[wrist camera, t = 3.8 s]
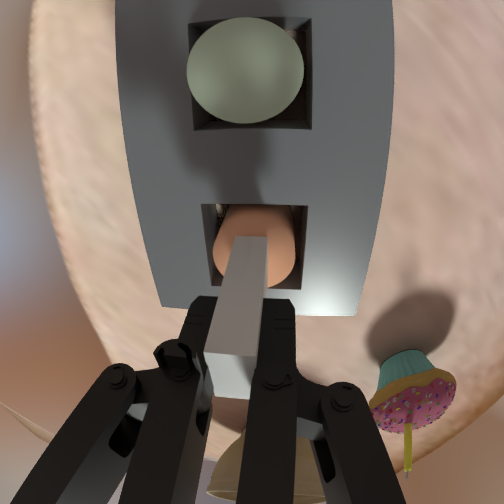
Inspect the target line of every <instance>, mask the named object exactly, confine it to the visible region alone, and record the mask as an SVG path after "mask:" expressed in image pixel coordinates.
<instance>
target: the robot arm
mask: <svg viewBox="0 0 504 504" xmlns="http://www.w3.org/2000/svg"><path fill="white" fill-rule="evenodd" d="M267 286H268V237H262V236H235V239H234V242H233V246H232V249H231V253H230V256H229V260H228V263H227V267H226V271H225V274H224V278H223V281H222V285H221V289H220V292H219V296H218V297H217V296H201V295H199V296H198V297H197V298H196V299H195V300H194V301H193V302H192V303H191V304H190V307H189V310H188V313H187V316H186V318H185V321H184V324H183V327H182V329H181V332H180V335H179V338H178V339H171V340H168V341H165V342H163V343H162V344H160V345H159V346H157V348H156V349H155V351H154V352H153V354H154V356H155V358H156V360H157V363H158V365H159V367H158V368H155V369H150V370H142V371H134V370H133V368H132V367H130V366H129V365H127V364H123V363H118V364H113V365H111V366H109V367H107V368H106V369H105V370H104V371H103V372H102V373H101V375H100V376H99V377H98V378H97V380H96V381H95V383H94V384H93V385H92V386H91V388H90V389H89V390H88V392H87V393H86V394H85V396H84V397H83V398H82V400H81V401H80V402H79V404H78V405H77V407H76V408H75V409H74V410H73V412H72V413H71V415H70V416H69V417H68V419H67V420H66V421H65V423H64V424H63V426H62V427H61V428H60V430H59V431H58V433H57V434H56V435H55V437H54V438H53V440H52V441H51V443H50V444H49V446H48V447H47V448H46V450H45V451H44V453H43V454H42V456H41V457H40V459H39V460H38V461H37V463H36V465H35V466H34V467H33V469H32V470H31V472H30V473H29V475H28V477H27V478H26V480H25V481H24V483H23V484H22V486H21V487H20V489H19V490H18V492H17V494H16V495H15V497H14V498H13V500H12V502H11V503H10V504H107V503H108V502H109V500H110V498H111V497H112V495H113V493H114V492H115V490H116V488H117V487H118V485H119V484H120V482H121V480H122V479H123V477H124V475H125V474H126V472H127V474H126V477H125V481H124V484H123V488H122V492H121V495H120V499H119V503H118V504H195V499H196V494H197V489H198V483H199V478H200V473H201V468H202V462H203V457H204V452H205V447H206V442H207V436H208V431H209V426H210V421H211V416H212V411H213V410H212V402H211V400H212V395H213V391H214V394H215V396H217V397H227V398H237V399H249V407H248V415H247V423H246V431H245V439H244V446H243V454H242V462H241V469H240V476H239V484H238V491H237V498H236V504H293V499H294V482H295V461H296V435H297V436H300V437H303V438H307V439H309V441H310V444H311V448H312V451H313V455H314V459H315V462H316V466H317V469H318V473H319V477H320V480H321V484H322V488H323V491H324V495H325V499H326V502H327V504H406V502H405V499H404V496H403V493H402V490H401V487H400V485H399V482H398V479H397V477H396V474H395V471H394V468H393V466H392V463H391V461H390V458H389V455H388V453H387V450H386V448H385V445H384V443H383V440H382V437H381V435H380V432H379V430H378V427H377V425H376V423H375V420H374V418H373V415H372V413H371V410H370V408H369V406H368V403H367V401H366V398H365V396H364V394H363V393H362V391H361V390H360V388H358V387H357V386H355V385H354V384H351V383H348V382H336V383H334V384H331V385H329V386H328V387H327V386H323V385H320V384H316V383H313V382H311V381H308V380H307V379H305V378H304V377H303V376H302V375H301V374H300V373H299V371H298V369H297V367H296V330H295V308H294V306H293V304H292V302H291V301H290V299H276V298H267Z"/></svg>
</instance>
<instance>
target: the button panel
mask: <svg viewBox="0 0 504 504" xmlns="http://www.w3.org/2000/svg"><path fill="white" fill-rule="evenodd" d="M240 17H252V18H259V19H263V20H266V21H269V22H272V23H274V24H275V25H277V26H279V27H281V28H282V29H283V30H306V121H295V120H264V121H260V122H255V123H246V124H245V123H234V122H229V121H211V122H210V117H209V112H208V111H206V110H205V109H204V108H203V107H202V106H201V105H200V104H199V103H198V102H197V100H196V99H195V98H194V96H193V94H192V92H191V90H190V88H189V84H188V81H187V62H188V58H189V55H190V52H191V50H192V48H193V46H194V44H195V43H196V41H197V40H198V39H199V38H200V37H201V35H203V34H204V33H205V32H206V31H207V30H208V29H210V28H211V27H213V26H214V25H216V24H218V23H220V22H223V21H226V20H229V19H233V18H240ZM115 37H116V62H117V77H118V90H119V100H120V110H121V118H122V126H123V134H124V141H125V148H126V154H127V161H128V167H129V172H130V178H131V183H132V189H133V194H134V199H135V204H136V208H137V213H138V218H139V222H140V227H141V231H142V235H143V239H144V244H145V248H146V252H147V255H148V259H149V263H150V267H151V271H152V274H153V278H154V281H155V285H156V288H157V292H158V295H159V299H160V302H161V305H162V307H170V308H181V309H189V307H190V304H191V303H192V302H193V301H194V300H195V299H196V298H197V297H198V296H199V295H201V296H217V297H218V296H219V292H220V289H221V285H222V281H223V278H224V276H223V275H222V274H221V273H220V271H219V270H218V269H217V267H216V265H215V262H214V258H213V246H214V243H215V240H216V238H217V235H218V232H219V231H218V221H217V210H216V204H277V205H303V213H302V228H301V243H300V256H299V259H295V263H294V266H293V269H292V271H291V272H290V274H289V275H288V276H287V277H286V278H285V279H284V280H283V281H281V282H280V283H278V284H276V285H274V286H271V287H268V288H267V298H276V299H290V301H291V302H292V304H293V306H294V308H295V315H314V316H355V314H356V311H357V307H358V304H359V300H360V297H361V293H362V289H363V285H364V281H365V278H366V274H367V270H368V265H369V261H370V257H371V253H372V248H373V243H374V239H375V234H376V229H377V224H378V219H379V213H380V208H381V202H382V196H383V190H384V184H385V177H386V170H387V162H388V154H389V145H390V135H391V124H392V111H393V94H394V24H393V8H392V0H116V2H115Z"/></svg>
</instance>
